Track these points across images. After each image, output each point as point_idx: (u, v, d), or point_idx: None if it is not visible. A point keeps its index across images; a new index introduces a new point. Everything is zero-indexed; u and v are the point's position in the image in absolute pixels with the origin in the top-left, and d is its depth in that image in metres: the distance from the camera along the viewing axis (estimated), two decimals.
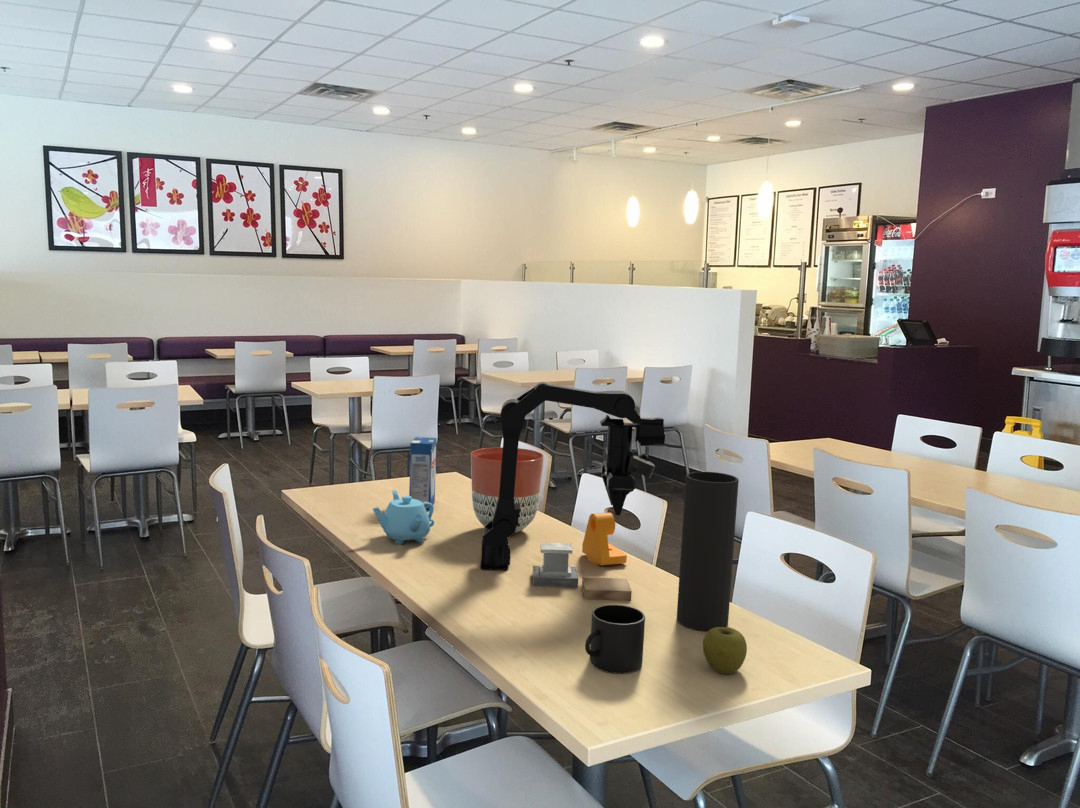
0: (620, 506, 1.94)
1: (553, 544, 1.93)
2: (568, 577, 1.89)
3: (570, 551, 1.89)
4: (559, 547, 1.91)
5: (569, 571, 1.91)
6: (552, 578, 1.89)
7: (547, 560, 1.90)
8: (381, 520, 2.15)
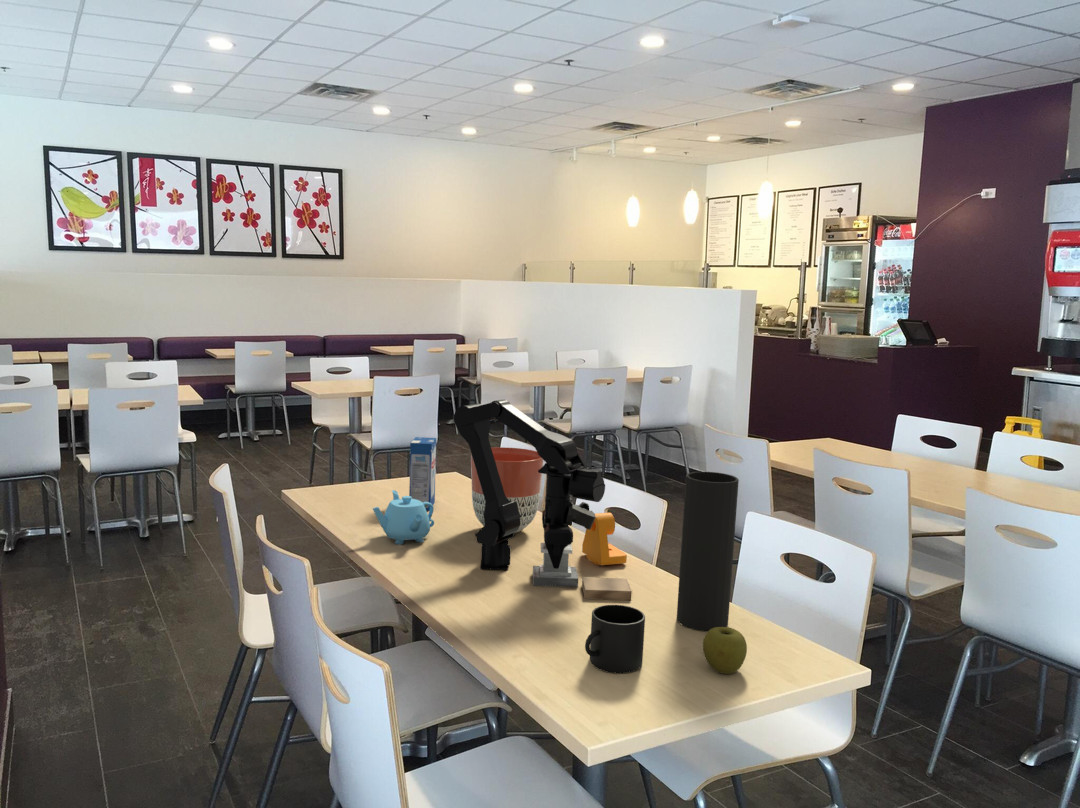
0: (558, 559, 1.87)
1: None
2: (568, 577, 1.89)
3: (570, 551, 1.89)
4: None
5: (569, 571, 1.91)
6: (552, 578, 1.89)
7: (547, 560, 1.90)
8: (381, 520, 2.15)
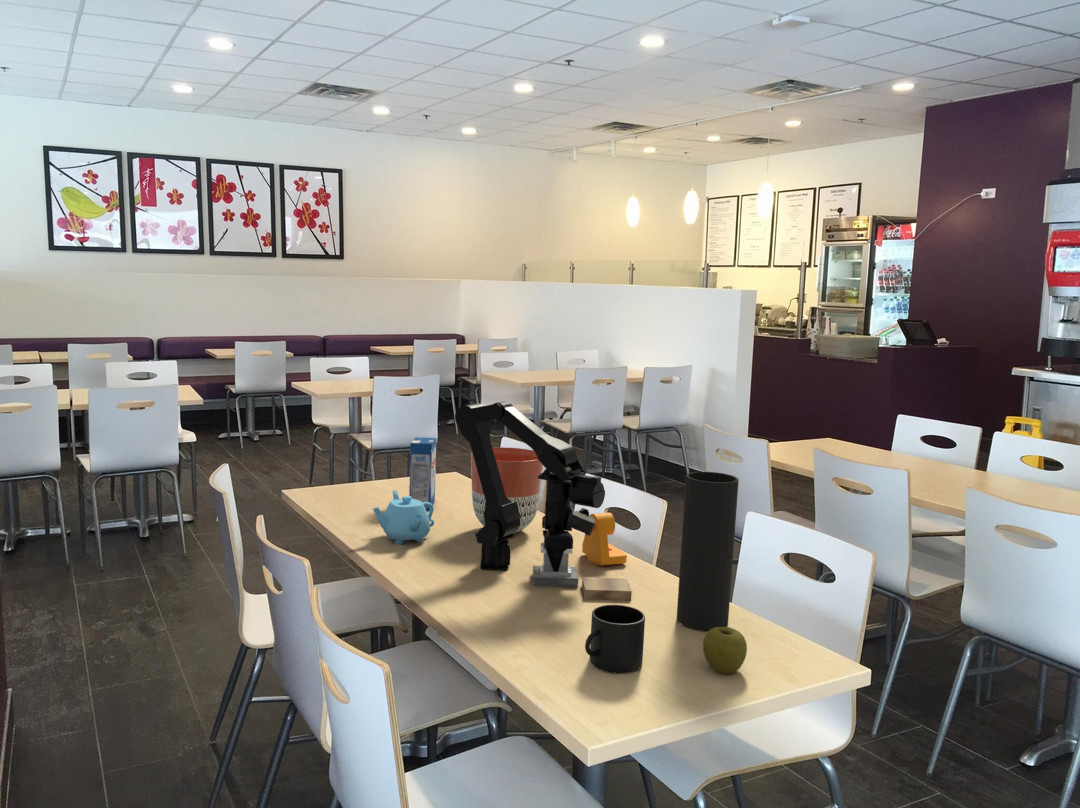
0: (558, 562, 1.89)
1: None
2: (568, 577, 1.89)
3: (570, 551, 1.89)
4: None
5: (569, 571, 1.91)
6: (552, 578, 1.89)
7: (547, 560, 1.90)
8: (381, 520, 2.15)
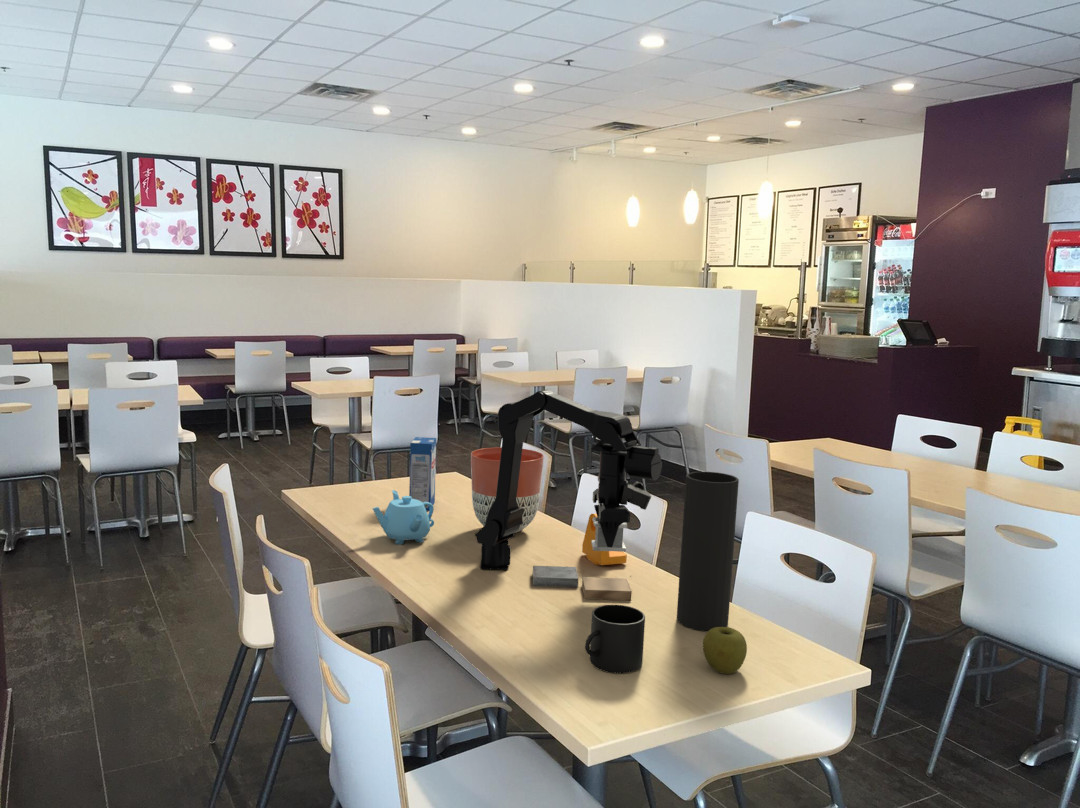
0: (612, 537, 1.81)
1: None
2: (568, 577, 1.89)
3: (625, 525, 1.82)
4: None
5: (623, 546, 1.83)
6: (552, 578, 1.89)
7: (601, 535, 1.82)
8: (381, 520, 2.15)
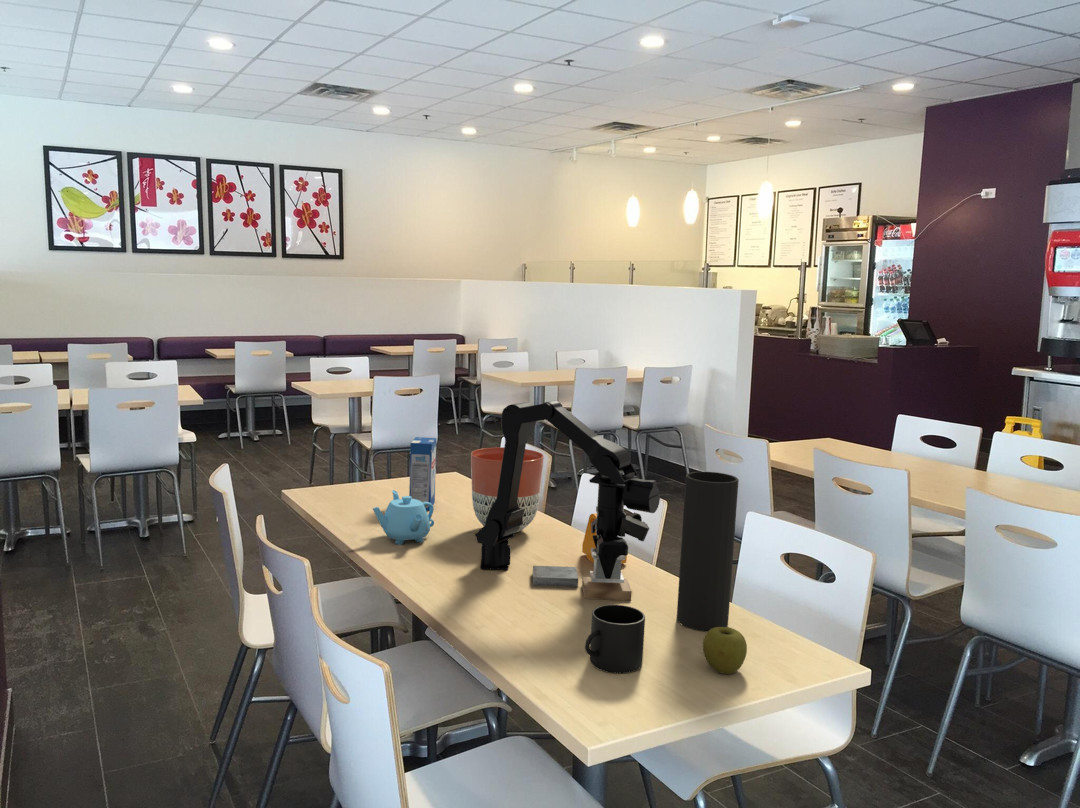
0: (610, 569, 1.82)
1: None
2: (568, 577, 1.89)
3: (623, 557, 1.83)
4: None
5: (621, 578, 1.84)
6: (552, 578, 1.89)
7: (599, 566, 1.83)
8: (381, 520, 2.15)
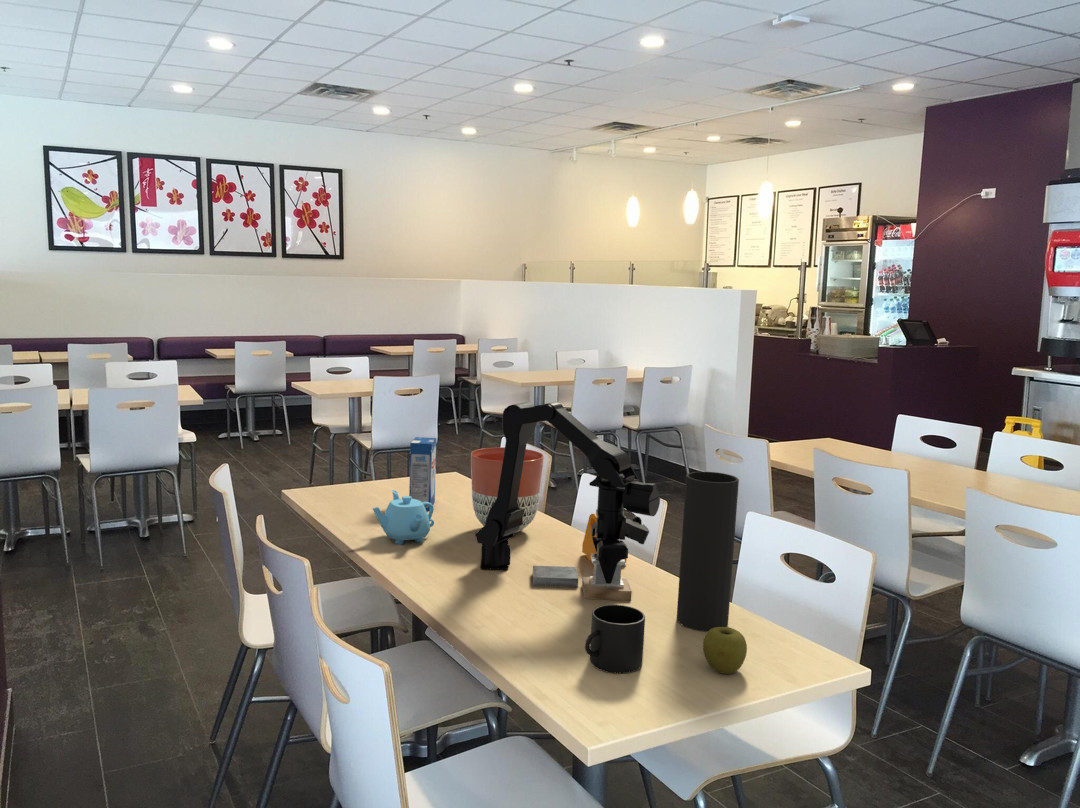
0: (611, 574, 1.81)
1: None
2: (568, 577, 1.89)
3: (623, 562, 1.83)
4: None
5: (621, 583, 1.84)
6: (552, 578, 1.89)
7: (599, 572, 1.83)
8: (381, 520, 2.15)
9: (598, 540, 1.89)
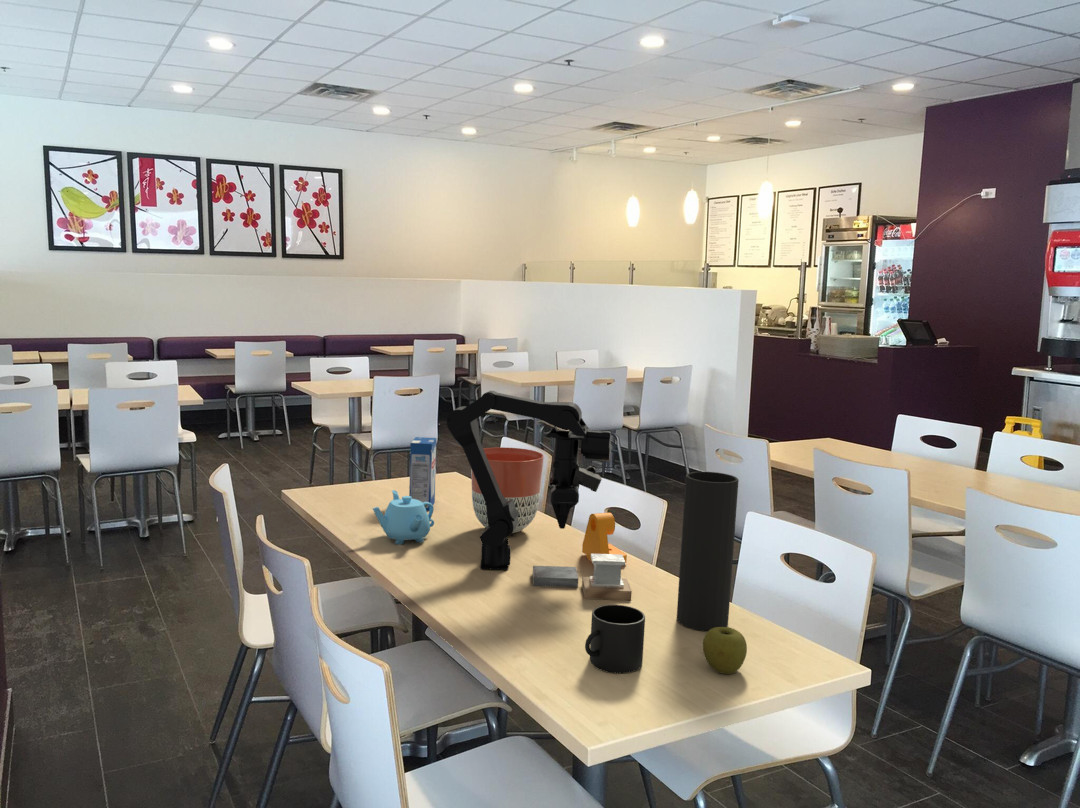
0: (564, 519, 1.92)
1: (604, 555, 1.87)
2: (568, 577, 1.89)
3: (623, 562, 1.83)
4: (611, 558, 1.85)
5: (621, 583, 1.84)
6: (552, 578, 1.89)
7: (599, 572, 1.83)
8: (381, 520, 2.15)
9: None
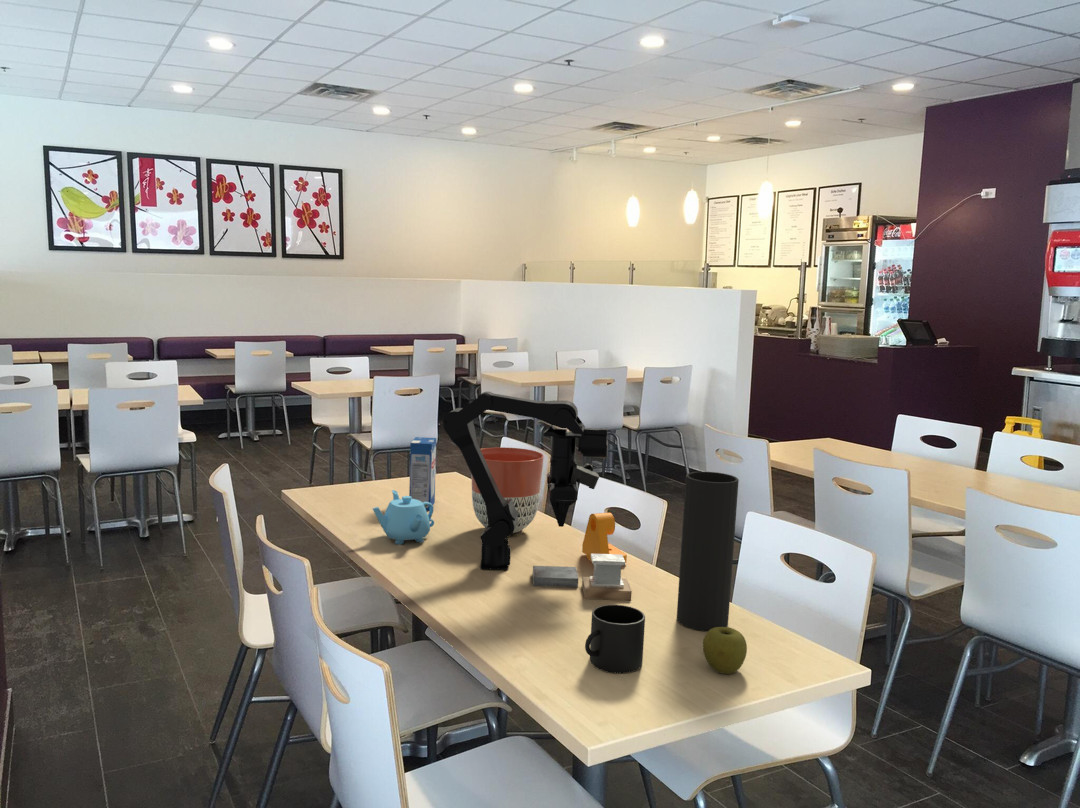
0: (563, 517, 1.92)
1: (604, 555, 1.87)
2: (568, 577, 1.89)
3: (623, 562, 1.83)
4: (611, 558, 1.85)
5: (621, 583, 1.84)
6: (552, 578, 1.89)
7: (599, 572, 1.83)
8: (381, 520, 2.15)
9: (552, 486, 2.03)
